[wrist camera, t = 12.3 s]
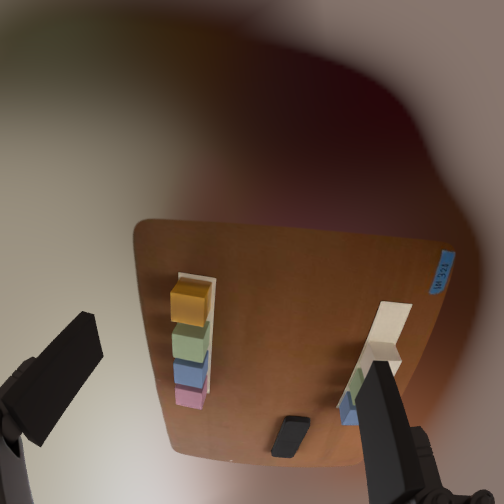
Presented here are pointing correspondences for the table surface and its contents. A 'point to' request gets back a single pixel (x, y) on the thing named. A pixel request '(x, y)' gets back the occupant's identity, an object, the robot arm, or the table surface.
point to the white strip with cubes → (375, 354)
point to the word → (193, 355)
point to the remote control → (290, 436)
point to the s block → (191, 301)
